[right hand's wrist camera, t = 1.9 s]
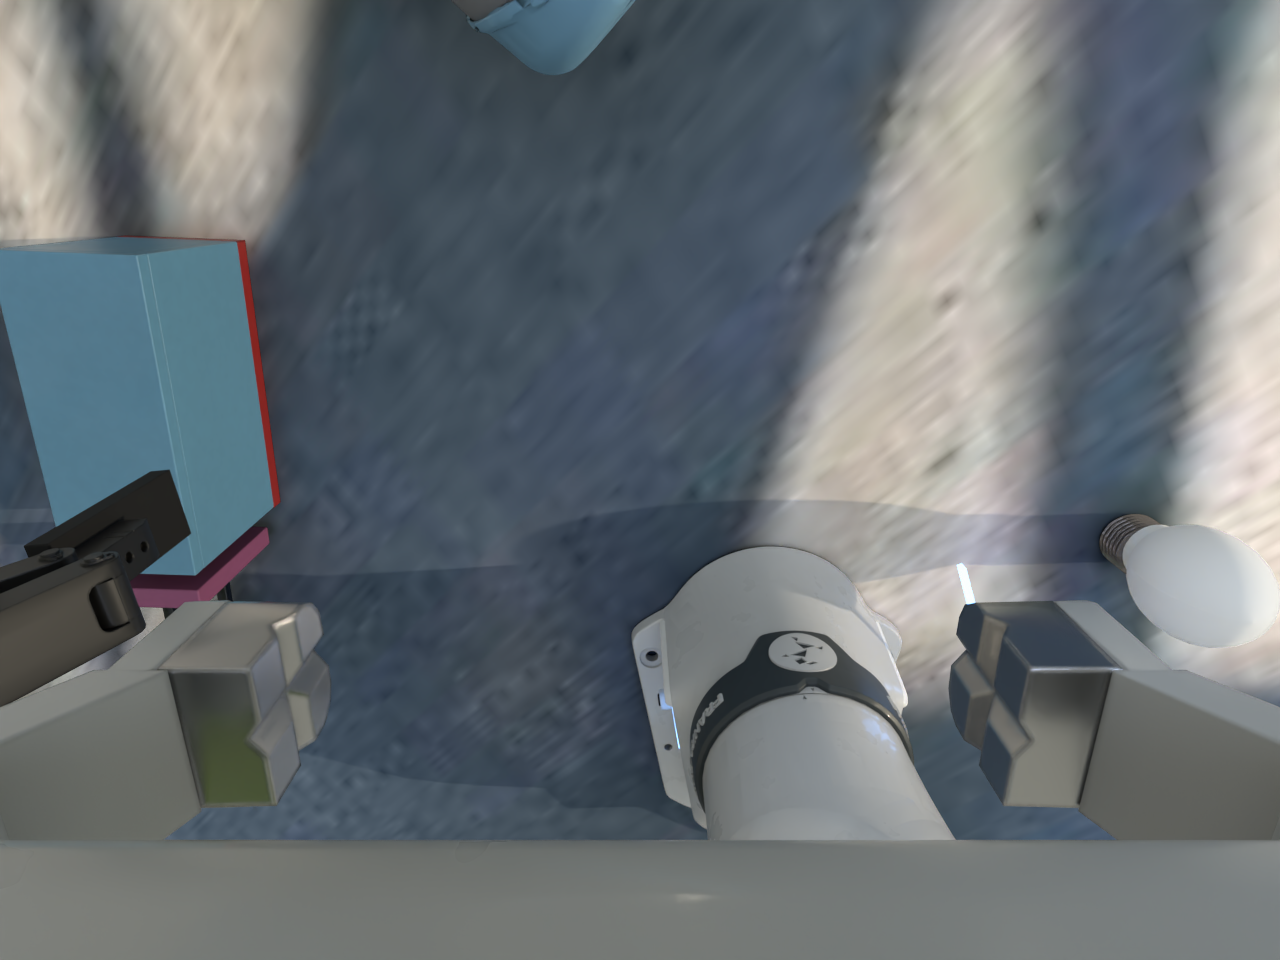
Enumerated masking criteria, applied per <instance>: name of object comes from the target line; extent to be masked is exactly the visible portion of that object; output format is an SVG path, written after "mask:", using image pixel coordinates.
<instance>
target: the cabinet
mask: <svg viewBox="0 0 1280 960" xmlns="http://www.w3.org/2000/svg"><path fill="white" fill-rule="evenodd" d="M0 305H1V309H2V313H3V317H4V321H5V325H6V329H7V333H8V337H9V341H10V345H11V349H12V353H13V357H14V361H15V365H16V369H17V373H18V377H19V381H20V385H21V389H22V393H23V397H24V401H25V405H26V409H27V413H28V417H29V421H30V425H31V429H32V433H33V437H34V441H35V445H36V449H37V453H38V457H39V461H40V465H41V469H42V473H43V478H44V482H45V486H46V490H47V494H48V498H49V502H50V506H51V510H52V514H53V518H54V522H55V526H56V527H57V526H59V525H60V524H62V523H64V522H65V521H67V520H69V519H70V518H72V517H74V516H76V515H77V514H79V513H81V512H82V511H84V510H86V509H87V508H89V507H91V506H93V505H94V504H96V503H98V502H99V501H101V500H103V499H104V498H106V497H108V496H110V495H111V494H113V493H115V492H116V491H118V490H120V489H121V488H123V487H125V486H127V485H128V484H130V483H132V482H133V481H135V480H137V479H138V478H140V477H142V476H144V475H145V474H147V473H149V472H150V471H159V470H170V472H171V475H172V478H173V481H174V484H175V487H176V490H177V492H178V495H179V498H180V501H181V504H182V507H183V510H184V513H185V516H186V519H187V522H188V525H189V528H190V531H191V534H190V535H189V536H188V537H186V538H185V539H184V540H182V541H181V542H180V543H179V544H177V545H176V546H175V547H173V548H172V549H171V550H170V551H168V552H167V553H166V554H164V555H163V556H162V557H161V558H159V559H158V560H157V561H156V562H154V563H153V564H152V565H151V566H149V567H148V568H147V569H145V570H144V571H143V572H142V573H140V574H164V575H197V574H198V573H199V572H200V571H201V570H202V569H203V568H205V567H206V566H207V565H208V564H209V563H210V562H212V561H213V560H214V559H215V558H216V557H217V556H218V555H220V554H221V553H222V552H223V551H224V550H225V549H226V548H228V547H229V546H230V545H231V544H232V543H233V542H234V541H236V540H237V539H238V538H239V537H240V536H241V535H242V534H244V533H245V532H246V531H247V530H248V529H249V528H250V527H252V526H253V525H254V524H255V523H256V522H257V521H258V520H259V519H261V518H262V517H263V516H264V515H265V514H266V513H267V512H269V511H270V510H271V509H272V508H274V507H275V506H276V505H278V504H279V503H280V495H279V488H278V481H277V473H276V466H275V459H274V451H273V444H272V437H271V429H270V422H269V415H268V407H267V400H266V392H265V385H264V378H263V370H262V363H261V356H260V348H259V341H258V334H257V326H256V319H255V311H254V304H253V297H252V289H251V282H250V275H249V267H248V260H247V253H246V245H245V240H226V239H200V238H174V237H148V236H118V237H111V238H100V239H90V240H80V241H69V242H59V243H49V244H38V245H28V246H18V247H7V248H0Z"/></svg>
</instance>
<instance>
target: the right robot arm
mask: <svg viewBox="0 0 1280 960" xmlns="http://www.w3.org/2000/svg"><path fill="white" fill-rule="evenodd" d="M957 567H958V571H959V575H960V579H961V583H962V587H963V590H964V594H965V598H966V602H967V604H965V605H964V608H963V610H962V612H961V614H960V616H959V622H958V628H957V633H956V635H957V636H958V638H959V639H960V641H961V642H962V644H963V646H964V647H965V649H966V650H965V651H964V652H963V654H962V655H961V656H960V657H959V658H958V659H957V660H956V661H955V662H954V663H953V664H952V665H951V673H950V681H949V698H950V707H951V712H952V715H953V718H954V722H955V725H956V727H957V729H958V730H959V732H960V734H961V736H962V737H963V739H964V740H965V741H966V742H968V743H970V744H971V745H973V746H974V747H976V748H978V749H979V750H981V757H980V763H979V766H980V768H981V769H982V771H983V773H984V774H985V776H986V778H987V779H988V781H989V783H990V784H991V786H992V788H993V789H994V791H995V793H996V794H997V796H998V797H999V799H1000V801H1001V802H1002V804H1003V806H1031V807H1068V808H1079V812H1080V813H1082V814H1083V815H1084V816H1086V817H1087V818H1089V819H1090V820H1091V821H1093V822H1094V823H1095V824H1097V825H1098V826H1099V827H1101V828H1102V829H1103V830H1105V831H1106V832H1107V833H1109V834H1110V835H1111V836H1113V837H1114V838H1116V839H1117V840H956V839H955V838H954V837H953V835H952V833H951V832H950V830H949V828H948V827H947V825H946V823H945V822H944V820H943V819H942V817H941V815H940V814H939V812H938V810H937V808H936V807H935V805H934V803H933V801H932V800H931V798H930V796H929V794H928V792H927V791H926V789H925V787H924V785H923V783H922V781H921V779H920V777H919V775H918V774H917V772H916V770H915V768H914V756H913V750H912V746H911V743H910V740H909V737H908V734H907V733H908V732H907V729H906V726H905V723H904V721H903V719H902V716H901V713H902V709H903V707H905V706H907V704H908V698H907V693H906V690H905V688H904V685H903V682H902V680H901V677H900V675H899V672H898V670H897V667H896V665H895V663H896V660H897V658H898V655H899V652H900V650H901V646H902V640H901V637H900V634H899V631H898V629H897V628H896V627H895V626H894V625H893V624H892V623H891V622H890V621H888V620H887V619H885V618H884V617H882V616H881V615H879V614H877V613H876V612H874V611H872V610H871V609H870V608H869V607H868V606H867V605H866V603H865V602H864V600H863V599H862V597H861V595H860V594H859V592H858V591H857V589H856V587H855V586H854V585H853V583H852V582H851V581H850V580H849V578H848V577H847V576H846V575H845V574H844V573H843V572H842V571H840V570H839V569H838V568H837V567H835V566H834V565H833V564H831V563H830V562H828V561H826V560H824V559H823V558H821V557H818V556H816V555H814V554H811V553H809V552H805V551H802V550H798V549H793V548H788V547H774V546H770V547H756V548H750V549H745V550H741V551H737V552H734V553H731V554H728V555H726V556H724V557H721V558H719V559H717V560H715V561H713V562H712V563H710V564H708V565H707V566H705V567H704V568H702V569H701V570H700V571H698V572H697V573H696V574H695V575H694V576H692V577H691V578H690V579H689V580H688V581H687V582H686V584H685V585H684V586H683V587H682V588H681V590H680V591H679V592H678V593H677V595H676V596H675V597H674V599H673V600H672V601H671V602H670V603H669V604H668V605H667V606H666V607H665V608H664V609H662V610H660V611H658V612H656V613H655V614H653V615H651V616H649V617H648V618H646V619H644V620H643V621H641V622H640V623H639V624H638V625H637V626H636V627H635V628H634V629H633V631H632V635H631V639H632V645H633V650H634V655H635V659H636V664H637V668H638V673H639V677H640V682H641V686H642V690H643V695H644V699H645V704H646V708H647V713H648V717H649V722H650V726H651V731H652V735H653V740H654V744H655V749H656V753H657V758H658V762H659V767H660V771H661V776H662V780H663V784H664V788H665V792H666V794H667V796H668V797H670V798H671V799H673V800H674V801H676V802H678V803H680V804H682V805H685V806H687V807H690V808H692V813H693V817H694V820H695V821H696V822H697V823H698V824H699V825H701V826H702V827H703V828H705V829H707V833H708V840H163V839H165V838H166V837H167V836H169V835H170V834H171V833H173V832H174V831H176V830H177V829H178V828H180V827H181V826H182V825H184V824H185V823H186V822H188V821H189V820H190V819H192V818H193V817H194V816H196V815H197V814H199V813H200V812H201V808H212V807H247V806H277V804H278V803H279V801H280V799H281V798H282V796H283V794H284V793H285V791H286V789H287V788H288V786H289V784H290V783H291V781H292V779H293V778H294V776H295V774H296V773H297V771H298V769H299V768H300V766H301V763H300V757H299V750H301V749H302V748H304V747H306V746H307V745H309V744H310V743H312V742H314V741H315V740H316V739H317V737H318V736H319V734H320V732H321V730H322V728H323V727H324V725H325V722H326V718H327V714H328V710H329V706H330V702H331V678H330V671H329V665H328V664H327V663H326V662H325V661H324V660H323V659H322V658H321V657H320V656H319V655H318V654H317V653H316V651H315V650H314V649H315V647H316V645H317V644H318V642H319V641H320V639H321V638H322V636H323V635H324V634H323V629H322V623H321V618H320V613H319V610H318V609H317V608H316V607H315V606H314V605H313V604H312V603H307V602H253V601H233V602H232V601H229V600H220V601H193V602H184V603H183V604H182V605H181V606H180V607H179V608H178V609H176V610H175V611H174V612H173V613H172V614H171V615H170V616H168V617H167V618H166V619H165V620H164V621H163V622H162V623H160V624H159V625H158V626H157V627H156V628H155V629H154V630H152V631H151V632H150V633H149V634H148V635H147V636H146V637H145V638H143V639H142V640H141V641H140V642H139V643H138V644H137V645H135V646H134V647H133V648H132V649H131V650H130V651H129V652H127V653H126V654H125V655H124V656H123V657H122V658H121V659H119V660H118V661H117V662H116V663H115V664H114V665H113V666H111V667H110V668H109V669H108V670H93V671H90V672H88V673H85V674H83V675H80V676H78V677H75V678H73V679H70V680H68V681H65V682H63V683H60V684H58V685H55V686H53V687H50V688H48V689H45V690H42V691H40V692H37V693H35V694H32V695H30V696H27V697H25V698H22V699H20V700H17V701H15V702H12V703H10V704H7V705H5V706H2V707H0V960H1280V707H1278V706H1275V705H1273V704H1270V703H1268V702H1265V701H1263V700H1260V699H1258V698H1255V697H1252V696H1250V695H1247V694H1245V693H1242V692H1240V691H1237V690H1235V689H1232V688H1230V687H1227V686H1225V685H1222V684H1220V683H1217V682H1215V681H1212V680H1210V679H1207V678H1205V677H1202V676H1200V675H1197V674H1195V673H1192V672H1190V671H1187V670H1172V669H1171V668H1170V667H1169V666H1167V665H1166V664H1165V663H1164V662H1163V661H1162V660H1161V659H1159V658H1158V657H1157V656H1156V655H1155V654H1154V653H1153V652H1152V651H1150V650H1149V649H1148V648H1147V647H1146V646H1145V645H1144V644H1142V643H1141V642H1140V641H1139V640H1138V639H1137V638H1136V637H1135V636H1133V635H1132V634H1131V633H1130V632H1129V631H1128V630H1127V629H1125V628H1124V627H1123V626H1122V625H1121V624H1120V623H1119V622H1117V621H1116V620H1115V619H1114V618H1113V617H1112V616H1111V615H1110V614H1108V613H1107V612H1106V611H1105V610H1104V609H1103V608H1102V607H1100V606H1099V605H1098V604H1097V603H1094V602H1091V601H1087V600H1076V601H1054V602H1053V601H1030V602H988V603H975V601H974V597H973V593H972V589H971V585H970V581H969V577H968V574H967V570H966V568H965V567H964V566H963V564H959V565H957ZM649 651H655V652H656V653H657V654H656V655H653V656H650V655H648V654H647V652H649Z"/></svg>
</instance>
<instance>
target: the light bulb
mask: <svg viewBox="0 0 1280 960" xmlns="http://www.w3.org/2000/svg"><path fill="white" fill-rule="evenodd" d="M1100 550H1101V552H1102V554H1103V555H1104V557H1105V558H1107V559H1108V560H1109V561H1110V562H1111V563H1113V564H1114V565H1115V566H1117V567H1118V568H1119V569H1120V570H1122V571H1123V572H1124V573H1125V574H1126V578H1127V583H1128V587H1129V591H1130V594H1131V596H1132V598H1133V600H1134V601H1135V603H1136V605H1137V606H1138V608H1139V609H1140V610H1141V612H1142V613H1143V614H1144V615H1145V616H1146V617H1147V618H1148V619H1149V620H1150V621H1151V622H1152V623H1153V624H1154V625H1156V626H1157V627H1159V628H1160V629H1161V630H1163V631H1164V632H1166V633H1167V634H1169V635H1171V636H1173V637H1175V638H1177V639H1179V640H1182V641H1184V642H1187V643H1189V644H1194V645H1198V646H1203V647H1208V648H1231V647H1237V646H1240V645H1243V644H1246V643H1249V642H1252V641H1254V640H1256V639H1258V638H1259V637H1261V636H1262V635H1264V634H1265V633H1266V632H1267V631H1268V630H1269V629H1270V628H1271V626H1272V625H1273V623H1274V622H1275V620H1276V618H1277V615H1278V612H1279V609H1280V591H1279V585H1278V582H1277V580H1276V577H1275V575H1274V573H1273V571H1272V570H1271V568H1270V566H1269V565H1268V564H1267V562H1266V561H1265V560H1264V559H1263V558H1262V557H1261V556H1260V554H1259V553H1258V552H1257V551H1255V550H1254V549H1253V548H1251V547H1250V546H1249V545H1247V544H1246V543H1245V542H1243V541H1242V540H1240V539H1239V538H1237V537H1235V536H1233V535H1230V534H1228V533H1226V532H1224V531H1221V530H1219V529H1215V528H1211V527H1206V526H1201V525H1174V526H1166V525H1161V524H1160V523H1158V522H1157V521H1155V520H1153V519H1152V518H1150V517H1148V516H1146V515H1142V514H1130V515H1125V516H1122V517H1120V518H1117V519H1116V520H1114V521H1113V522H1111V523H1110V524H1109V525H1108V526H1107V527H1106V528H1105V529H1104V531H1103V533H1102V535H1101V537H1100Z"/></svg>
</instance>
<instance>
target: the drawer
mask: <svg viewBox="0 0 1280 960" xmlns="http://www.w3.org/2000/svg"><path fill="white" fill-rule="evenodd" d="M268 544H269V536H268V529H267V527H250V528H249V529H248V530H247V531H246V532H245V533H244V534H242V535H241V536H240V537H239V538H238V539H237V540H236V541H234V542H233V543H232V544H231V545H230V546H229V547H228V548H226V549H225V550H224V551H223V552H222V553H221V554H220V555H218V556H217V557H216V558H215V559H214V560H213V561H212V562H210V563H209V564H208V565H207V566H206V567H205V568H203V569H202V570H201V571H200V572H199V573H198V574H197V575H164V574H139V575H138V576H136V577H135V578H134V579H133V580H131V581H130V584H131V587H132V589H133V592H134V595H135V597H136V600H137V602H138V605H139V607H157V608H163V611H164V616H165V619H166V618H167V617H168V616H170V615H171V614H172V613H173V612H174V611H175V610H176V609H178V608H179V607H180V606H181V605H182V604H183V603H184V602H193V601H210V600H211V599H212V598H213V597H214V596H215V595H216V594H217V596H218V601H220V600H229V601H232V602H233V600H232V594H231V588H230V583H229V582H230V581H231V580H232V579H233V578H234V577H235V576H236V575H237V574H238V573H239V572H240V571H241V570H242V569H243V568H244V567H245V566H246V565H247V564H248V563H249V562H250V561H251V560H252V559H253V558H254V557H256V556H257V555H258V554H259V553H260V552H261V551H262V550H263V549H264V548H265V547H266V546H267V545H268Z"/></svg>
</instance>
